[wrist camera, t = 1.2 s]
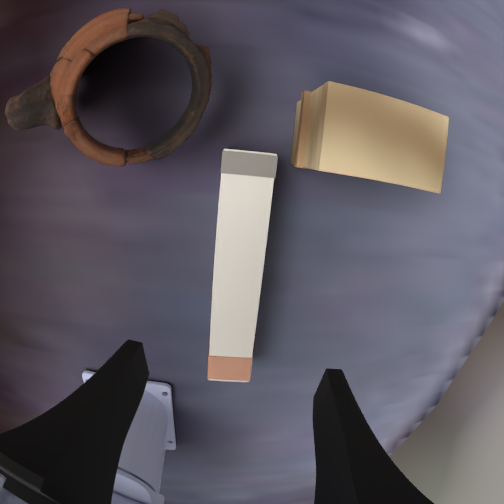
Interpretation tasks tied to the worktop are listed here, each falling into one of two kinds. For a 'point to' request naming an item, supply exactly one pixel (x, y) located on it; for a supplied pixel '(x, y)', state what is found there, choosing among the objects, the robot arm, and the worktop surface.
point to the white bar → (239, 261)
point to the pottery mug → (76, 61)
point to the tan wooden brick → (369, 137)
